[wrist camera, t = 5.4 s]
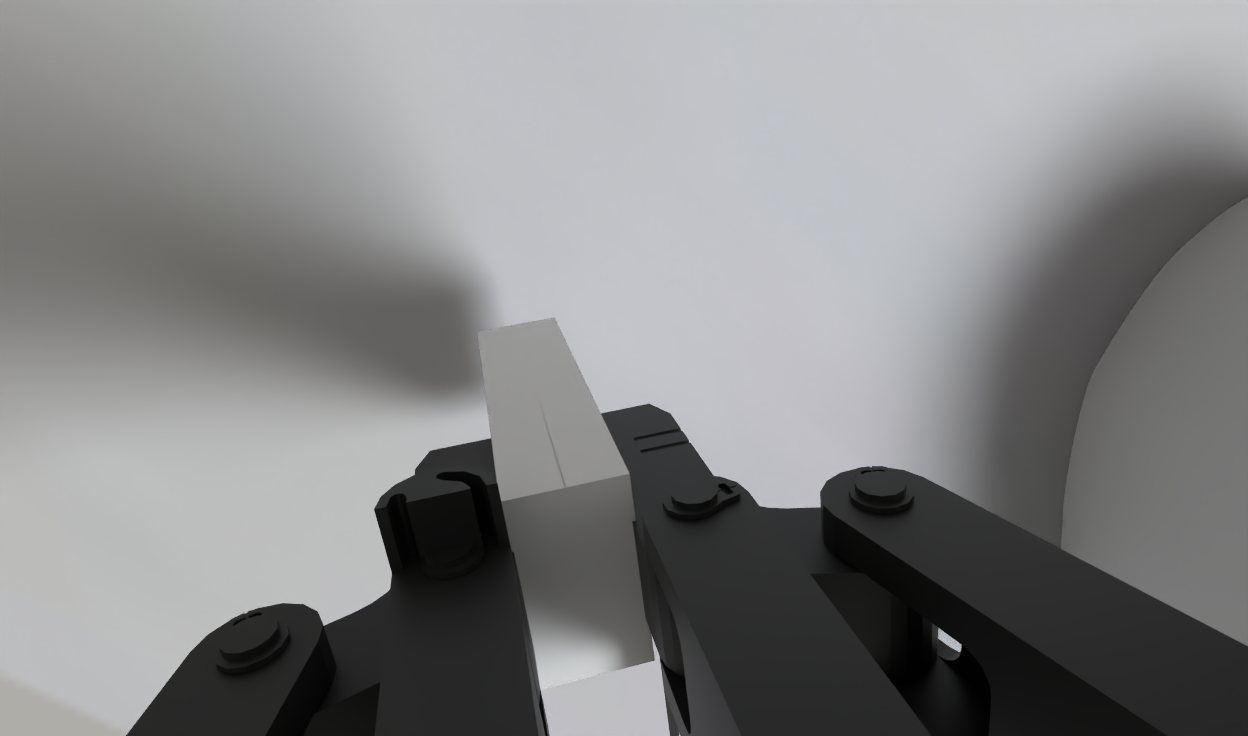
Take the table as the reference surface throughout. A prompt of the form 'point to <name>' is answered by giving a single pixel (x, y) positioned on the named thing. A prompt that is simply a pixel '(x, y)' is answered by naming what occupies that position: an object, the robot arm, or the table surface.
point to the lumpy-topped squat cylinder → (1173, 437)
